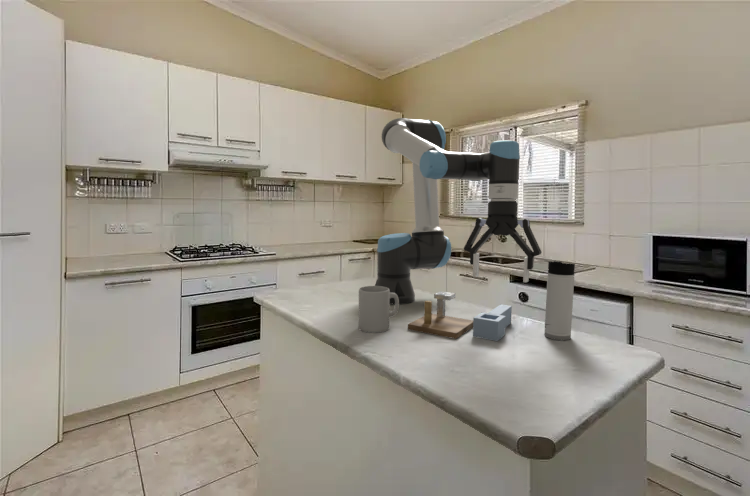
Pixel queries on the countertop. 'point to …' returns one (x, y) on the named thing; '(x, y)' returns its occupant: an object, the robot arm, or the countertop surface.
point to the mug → (375, 308)
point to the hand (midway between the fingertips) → (500, 279)
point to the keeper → (442, 302)
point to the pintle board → (440, 324)
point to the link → (492, 323)
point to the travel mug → (559, 300)
